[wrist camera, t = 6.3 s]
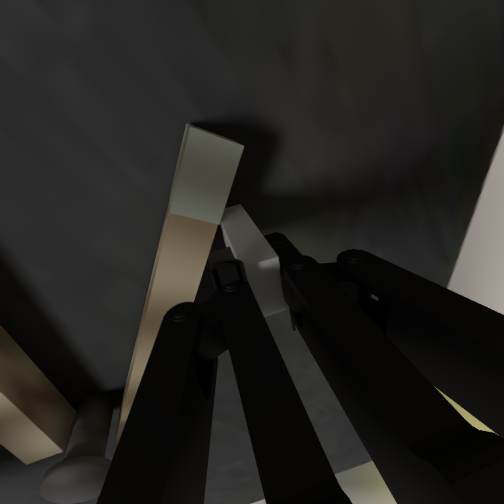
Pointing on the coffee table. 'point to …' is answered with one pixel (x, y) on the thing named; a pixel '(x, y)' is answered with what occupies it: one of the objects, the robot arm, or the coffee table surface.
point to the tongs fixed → (52, 427)
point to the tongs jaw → (183, 239)
